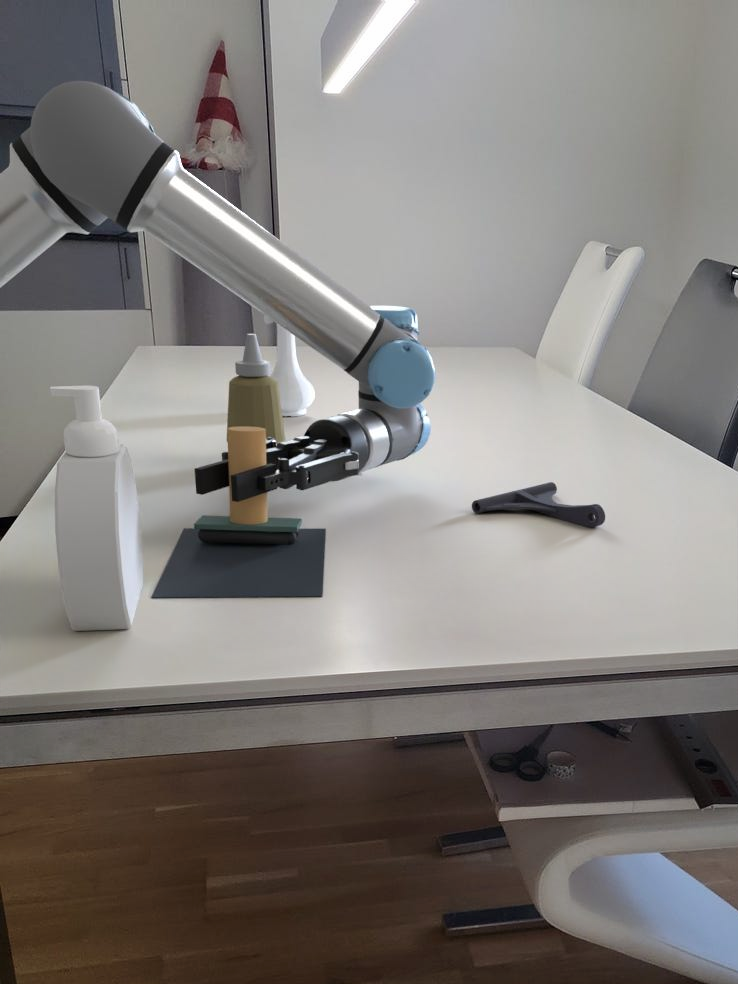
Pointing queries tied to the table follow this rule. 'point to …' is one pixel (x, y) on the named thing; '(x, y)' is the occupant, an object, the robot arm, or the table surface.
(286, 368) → the flower vase
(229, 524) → the wiper
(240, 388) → the squeeze bottle
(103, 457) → the soap bottle
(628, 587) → the table surface
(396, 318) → the robot arm
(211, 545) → the wipe mat
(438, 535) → the table surface
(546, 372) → the table surface
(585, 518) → the bracket
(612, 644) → the table surface
